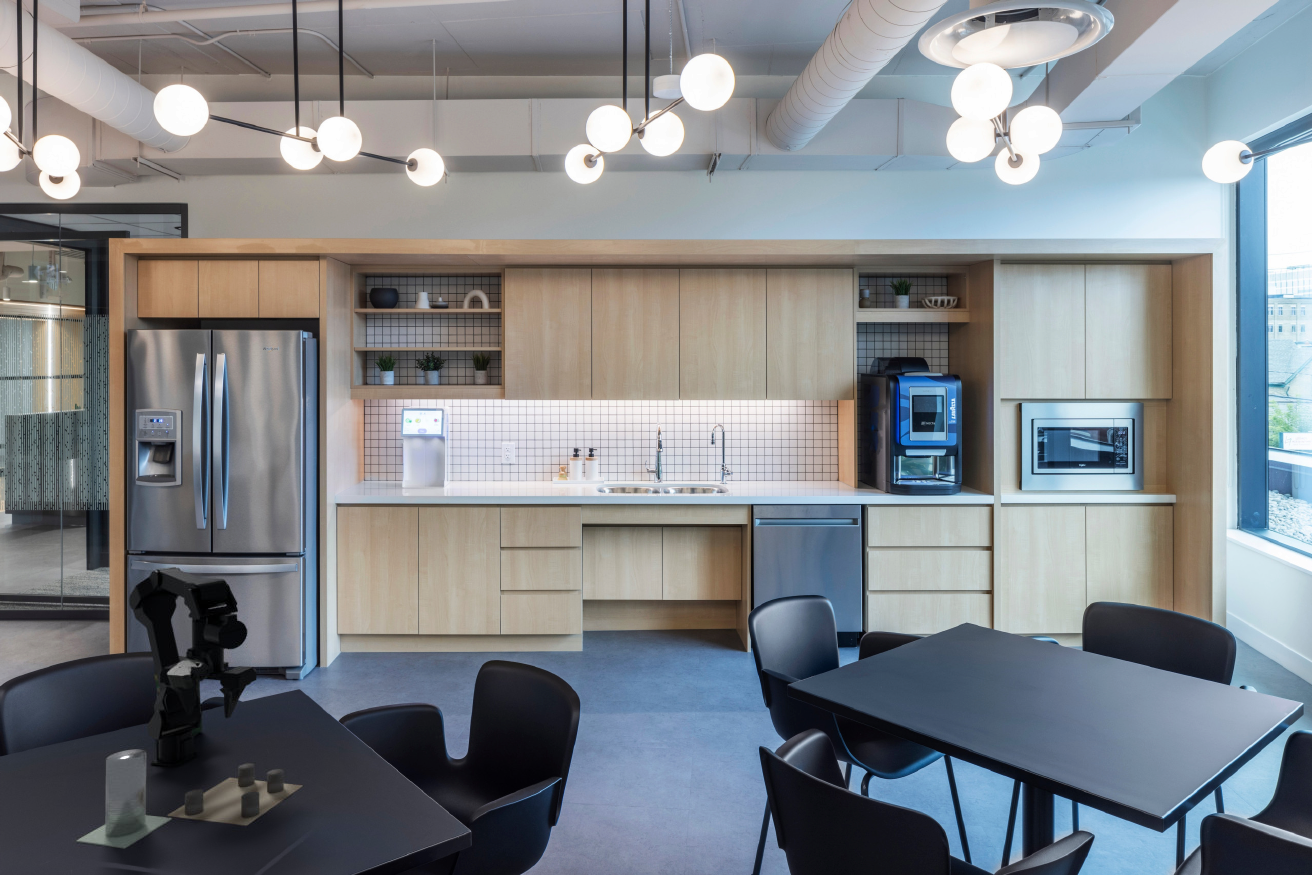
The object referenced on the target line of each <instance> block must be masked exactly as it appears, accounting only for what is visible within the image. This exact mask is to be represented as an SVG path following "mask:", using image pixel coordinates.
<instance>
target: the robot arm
mask: <svg viewBox="0 0 1312 875" xmlns="http://www.w3.org/2000/svg"><path fill="white" fill-rule="evenodd" d="M179 597H181V598H183V602H184V603H183V604H184V605H185V607H187V608H188V610H189V611H190V612H189V613H188V617H189V619H190V618H191V647H189V648H187V651H186V652H185V657H186V659H185V660H183V661H181V662H180V658H179V656H180V654H179V650H178V646H177V642H176V637H175V632H174V627H173V623H172V622H173V621H172V618H173V616H174V615H175V611H176V609H177V600H178V598H179ZM128 598H129V599H128V603H129V606H130V609H131V610H132V611H133V615H134V619H136V620H137V621H138V622H139V623H140V624H141V625H142V626H144V627H145V628H146V634H147V637H148V641H149V646H150V651H151V656H152V661H153V664H154V671H155V670H156V675H157V680H158V684H159V689H160V693H159V695H158V697H157V696H156V700H155V703H154V705H153V708H154V713H153V715H152V717H151V718H150V721H149V722H148V723H147V725H146V727H147V728H146V729H147V733H148V737H151V738H153V739H155V740H156V741H155V742H156V743H155V745H156V746H155V747H156V749H155V750H156V758H155V759H153V760H151V761H150V765H154V766H155V765H156V766H164V767H177V766H179V765H181V764H183V763H186V762H187V761H188V760H191V759H192V758H195V757H196V756H198V752H196V751H194V736H193V737H192V729H195V728H196V729H197V728H199V726H200V721H201V716H202V717H203V710H204V709H203V706H202V703H200V702H201V700H200V701H199V698H198V693H197V689H196V688H197V681H200V682H203V681H204V680H210V681H219V684H220V686H221V688H220V689H219V691H220V692H221V693H222V695H223V704H224V706H223V707H224V708H223V710H224V717H225V719H229V718H231V716H232V715H233V712H234V710H235V708H236V707H237V704H238V702H239V700H240V697H241V696H242V694H243V692H244V690H245V689H246V688H247V686H249V685H251V684H252V682H255V681H257V669H255V668H254V667H253V666H243V665H239V666H236V667H234V668H233V667H232V668H231V669H229V670H225V669H227V668H229V665H230V664H229V662H228V661H225V650H236V649H237V648H239V647H240V646H242V645H243V644H244V643H245V642H246V639H247V636H248V629H247V626H246V625H245V623H244V622H242V621H241V620H238V614H237V613H238V612H239V608H238V606H237V605H238V602H237V599H236V598H235V595H234V593H233V592H232V590H231V587H230V584H228V582H227V581H226V580H225V579H223V578H219V577H217V578H216V577H213V578H202V577H198V576H195V575H194V574H191V573H188V572H186V571H183V570H181V568H179V567H176V566H171V567H164V568H158V569H155V570H153V571H152V572H150V575H149V576H147V578H145V579H144V580H142V581H141V582H139V583H137V584H136V585H135V587H134V588H133V590H132V592H131V593H130V594H129V597H128Z"/></svg>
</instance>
